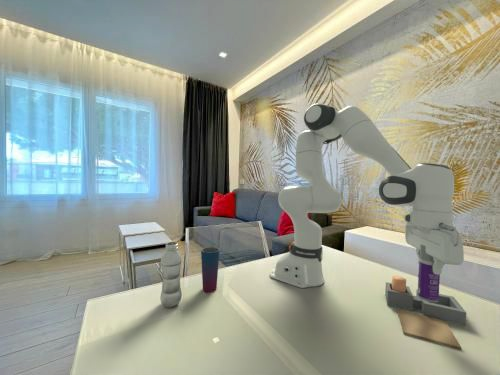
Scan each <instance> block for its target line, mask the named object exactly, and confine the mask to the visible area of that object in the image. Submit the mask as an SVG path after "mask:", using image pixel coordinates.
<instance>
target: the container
mask: <svg viewBox="0 0 500 375" xmlns="http://www.w3.org/2000/svg"><path fill="white" fill-rule="evenodd" d="M425 248H426V246H424V245H422V244H421V246H420V257H419V263H418V276H417V290H418V297H419V298H421V299H423V300H425V301H429V302H438V299H439V294H440V282H441V280H440V279H441V274H440V275H439V274H434V273H433V272H431V266H433V264H434V262H435V261H433V257H432V256H430V255H428V254H427V253H426V251H425Z"/></svg>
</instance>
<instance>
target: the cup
mask: <svg viewBox="0 0 500 375" xmlns="http://www.w3.org/2000/svg"><path fill="white" fill-rule="evenodd" d="M220 250H221V248H219V247H217V246H206V247H203V248H201V250H200V254H201V256H200V257H201V280H202V282H201V283H202V291H203V292H204V293H209V294H210V293H214V292H216V291H217V288H218V287H217V285H218V274H219V265H220V263H219V260H220Z"/></svg>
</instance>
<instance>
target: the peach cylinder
mask: <svg viewBox="0 0 500 375" xmlns="http://www.w3.org/2000/svg"><path fill="white" fill-rule="evenodd" d="M391 283H392V290H394V291H398V292H403V293H406V286H407V279H406V278H405V277H403V276H399V275H393V276H392V279H391Z"/></svg>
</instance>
